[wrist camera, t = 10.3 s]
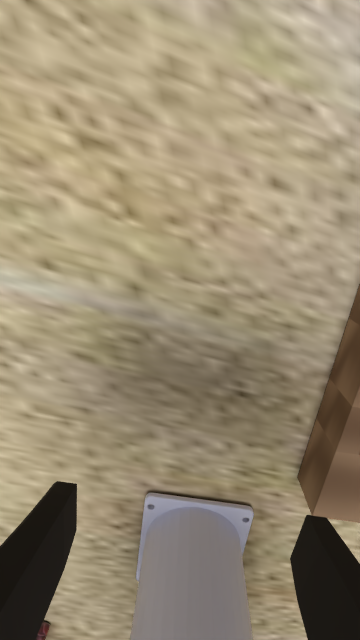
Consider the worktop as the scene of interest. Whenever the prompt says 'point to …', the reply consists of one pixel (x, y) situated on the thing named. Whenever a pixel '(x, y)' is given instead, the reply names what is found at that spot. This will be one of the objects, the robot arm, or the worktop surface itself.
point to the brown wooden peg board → (337, 435)
